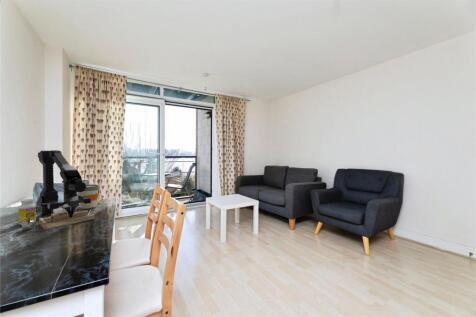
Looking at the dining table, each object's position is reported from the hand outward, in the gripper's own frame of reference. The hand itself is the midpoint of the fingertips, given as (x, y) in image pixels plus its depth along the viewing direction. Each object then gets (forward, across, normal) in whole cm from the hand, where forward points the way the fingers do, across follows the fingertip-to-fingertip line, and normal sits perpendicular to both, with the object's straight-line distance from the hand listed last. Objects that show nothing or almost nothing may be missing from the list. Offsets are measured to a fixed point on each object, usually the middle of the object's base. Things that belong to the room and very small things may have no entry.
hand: (70, 217), depth 119 cm
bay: (+2, -1, 0) cm, 2 cm away
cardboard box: (+2, -5, 0) cm, 5 cm away
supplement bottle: (+2, -16, +12) cm, 20 cm away
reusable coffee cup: (+2, +16, +26) cm, 31 cm away
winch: (+1, -17, 0) cm, 17 cm away
